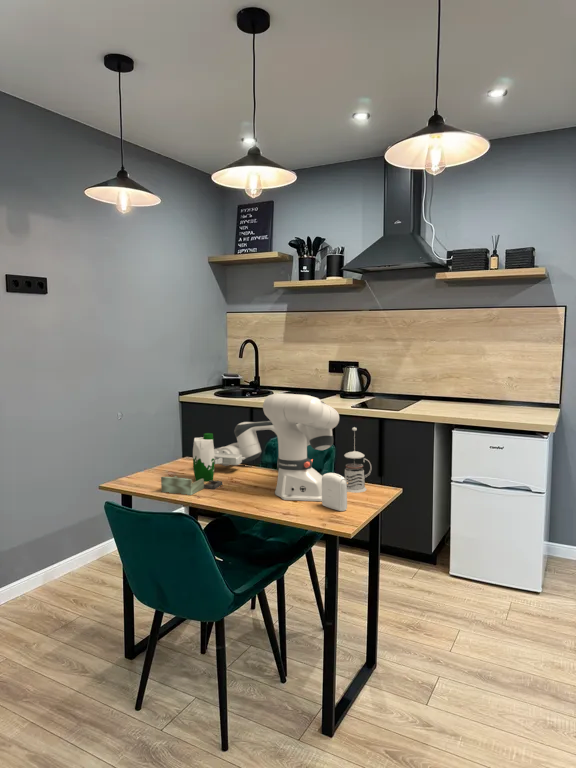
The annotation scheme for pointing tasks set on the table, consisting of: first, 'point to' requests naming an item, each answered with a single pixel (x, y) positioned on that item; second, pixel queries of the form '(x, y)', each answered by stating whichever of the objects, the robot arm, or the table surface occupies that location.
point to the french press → (355, 485)
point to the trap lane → (186, 485)
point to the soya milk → (203, 457)
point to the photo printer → (334, 491)
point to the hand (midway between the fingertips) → (212, 462)
